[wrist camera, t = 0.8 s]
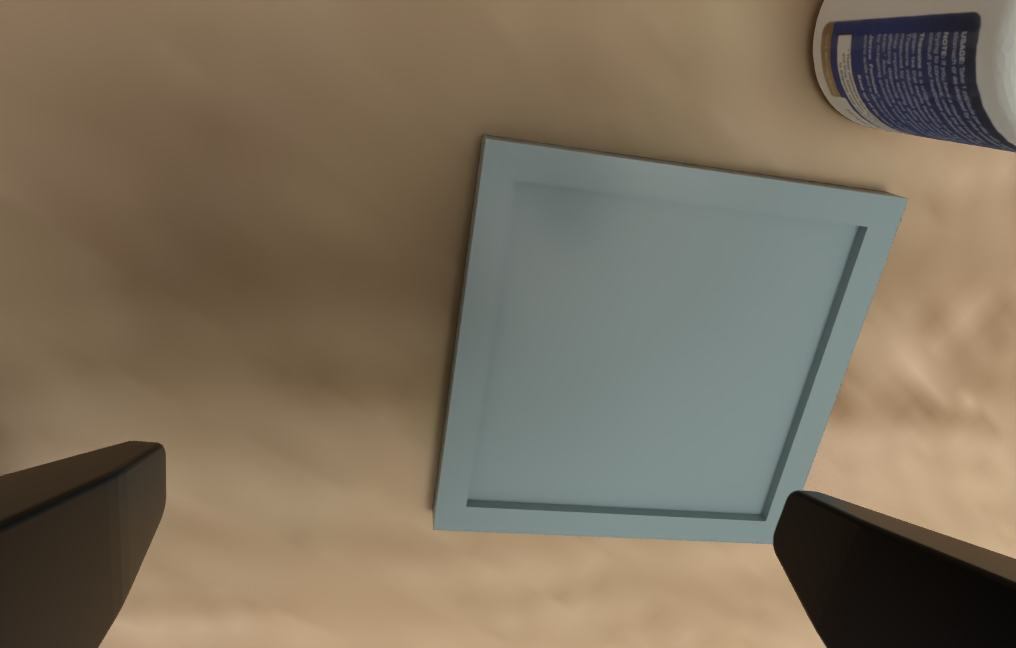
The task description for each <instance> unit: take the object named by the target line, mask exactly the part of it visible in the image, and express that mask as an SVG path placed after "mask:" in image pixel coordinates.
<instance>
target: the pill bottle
mask: <svg viewBox="0 0 1016 648" xmlns="http://www.w3.org/2000/svg"><path fill="white" fill-rule="evenodd" d="M813 59H814V65H815V73H816V77H817V80H818V83H819V85H820V87H821V90H822V92H823V93H824V95H825V96H826V98H827V99H828V101H829V103H830V104H831V105H832V106H833V107H834V108H835V109H836V110H837V111H838V112H840V113H841V114H842V115H844V116H845V117H847V118H848V119H850V120H852V121H853V122H856V123H858V124H860V125H863V126H866V127H871V128H876V129H880V130H884V131H889V132H898V133H904V134H909V135H915V136H921V137H927V138H933V139H938V140H944V141H951V142H957V143H963V144H969V145H976V146H982V147H988V148H993V149H999V150H1005V151H1011V152H1016V0H824V1H823V4H822V7H821V9H820V12H819V15H818V18H817V22H816V27H815V32H814V40H813Z"/></svg>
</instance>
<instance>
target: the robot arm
mask: <svg viewBox="0 0 1016 648" xmlns="http://www.w3.org/2000/svg"><path fill="white" fill-rule="evenodd" d="M165 502H166V453H165V449H164V447H163V445H162V444H160V443H157V442H143V441H128V442H124V443H120V444H117V445H113V446H109V447H106V448H102V449H98V450H95V451H91V452H87V453H84V454H80V455H76V456H73V457H69V458H65V459H61V460H58V461H54V462H50V463H47V464H43V465H39V466H36V467H32V468H28V469H25V470H21V471H17V472H14V473H10V474H6V475H3V476H0V648H98V647H99V645H100V644H101V642H102V640H103V639H104V637H105V635H106V634H107V632H108V630H109V629H110V627H111V625H112V624H113V622H114V620H115V619H116V617H117V615H118V613H119V612H120V610H121V608H122V606H123V604H124V602H125V600H126V598H127V596H128V594H129V591H130V589H131V587H132V585H133V582H134V580H135V578H136V575H137V573H138V571H139V569H140V566H141V564H142V562H143V559H144V557H145V555H146V553H147V550H148V548H149V546H150V543H151V541H152V539H153V537H154V534H155V532H156V530H157V527H158V525H159V523H160V521H161V518H162V515H163V512H164V508H165ZM773 546H774V551H775V553H776V556H777V557H778V559H779V561H780V563H781V565H782V567H783V569H784V571H785V573H786V575H787V577H788V579H789V581H790V582H791V584H792V586H793V588H794V590H795V592H796V594H797V596H798V598H799V600H800V602H801V604H802V606H803V607H804V609H805V611H806V613H807V615H808V617H809V619H810V621H811V622H812V624H813V626H814V628H815V630H816V631H817V633H818V635H819V636H820V638H821V640H822V641H823V643H824V644H825V646H826V647H827V648H1016V559H1014V558H1011V557H1008V556H1005V555H1002V554H999V553H996V552H993V551H990V550H988V549H985V548H982V547H979V546H976V545H973V544H970V543H967V542H964V541H961V540H958V539H955V538H952V537H949V536H946V535H943V534H940V533H938V532H935V531H932V530H929V529H926V528H923V527H920V526H917V525H914V524H911V523H908V522H905V521H902V520H899V519H896V518H893V517H890V516H888V515H885V514H882V513H879V512H876V511H873V510H870V509H867V508H864V507H861V506H858V505H855V504H852V503H849V502H846V501H843V500H840V499H838V498H835V497H832V496H829V495H826V494H823V493H820V492H814V491H802V490H796V491H793V492H792V493H790V494H789V496H788V497H787V499H786V502H785V504H784V507H783V510H782V512H781V515H780V518H779V520H778V523H777V526H776V528H775V531H774V535H773Z"/></svg>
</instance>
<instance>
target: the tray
mask: <svg viewBox="0 0 1016 648" xmlns="http://www.w3.org/2000/svg"><path fill="white" fill-rule="evenodd" d="M907 201H908V199H907V198H904V197H901V196H897V195H894V194H891V193H888V192H881V191H874V190H867V189H860V188H853V187H846V186H839V185H832V184H825V183H818V182H811V181H804V180H797V179H790V178H783V177H776V176H769V175H762V174H755V173H748V172H741V171H734V170H727V169H720V168H713V167H706V166H699V165H692V164H685V163H678V162H671V161H664V160H657V159H650V158H643V157H636V156H629V155H622V154H615V153H608V152H601V151H594V150H587V149H580V148H573V147H566V146H559V145H552V144H545V143H538V142H531V141H524V140H517V139H510V138H503V137H496V136H489V135H483V136H482V144H481V151H480V159H479V166H478V174H477V181H476V189H475V197H474V204H473V212H472V219H471V227H470V234H469V242H468V249H467V257H466V264H465V272H464V279H463V287H462V294H461V302H460V309H459V317H458V324H457V332H456V339H455V347H454V354H453V362H452V369H451V377H450V384H449V392H448V399H447V407H446V414H445V422H444V429H443V437H442V444H441V452H440V459H439V467H438V474H437V482H436V489H435V497H434V504H433V530H449V531H473V532H497V533H520V534H544V535H567V536H591V537H615V538H638V539H662V540H686V541H709V542H733V543H757V544H773V535H774V531H775V528H776V526H777V523H778V520H779V518H780V515H781V512H782V510H783V507H784V504H785V502H786V499H787V497H788V496H789V494H790V493H792V492H793V491H796V490H803V488H804V485H805V482H806V479H807V477H808V474H809V471H810V468H811V466H812V463H813V460H814V457H815V455H816V452H817V449H818V446H819V444H820V441H821V438H822V435H823V433H824V430H825V427H826V424H827V422H828V419H829V416H830V413H831V411H832V408H833V405H834V402H835V400H836V397H837V394H838V391H839V389H840V386H841V383H842V380H843V378H844V375H845V372H846V369H847V367H848V364H849V361H850V358H851V356H852V353H853V350H854V347H855V345H856V342H857V339H858V336H859V333H860V331H861V328H862V325H863V322H864V320H865V317H866V314H867V311H868V309H869V306H870V303H871V300H872V298H873V295H874V292H875V289H876V287H877V284H878V281H879V278H880V276H881V273H882V270H883V267H884V265H885V262H886V259H887V256H888V254H889V251H890V248H891V245H892V243H893V240H894V237H895V234H896V232H897V229H898V226H899V223H900V221H901V218H902V215H903V212H904V210H905V207H906V204H907Z"/></svg>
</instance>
